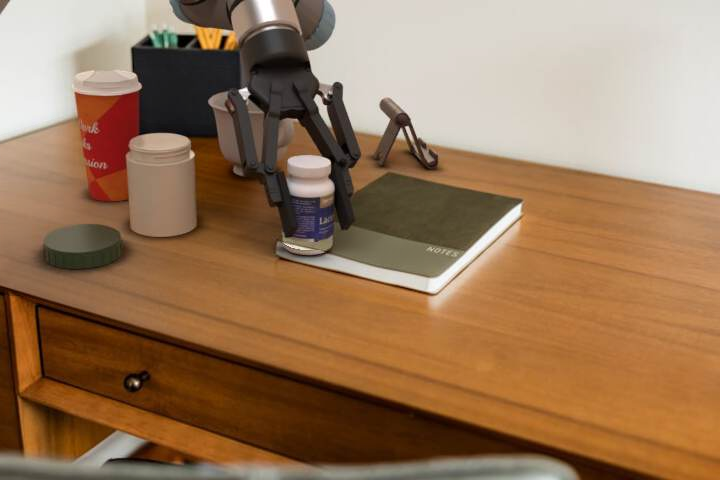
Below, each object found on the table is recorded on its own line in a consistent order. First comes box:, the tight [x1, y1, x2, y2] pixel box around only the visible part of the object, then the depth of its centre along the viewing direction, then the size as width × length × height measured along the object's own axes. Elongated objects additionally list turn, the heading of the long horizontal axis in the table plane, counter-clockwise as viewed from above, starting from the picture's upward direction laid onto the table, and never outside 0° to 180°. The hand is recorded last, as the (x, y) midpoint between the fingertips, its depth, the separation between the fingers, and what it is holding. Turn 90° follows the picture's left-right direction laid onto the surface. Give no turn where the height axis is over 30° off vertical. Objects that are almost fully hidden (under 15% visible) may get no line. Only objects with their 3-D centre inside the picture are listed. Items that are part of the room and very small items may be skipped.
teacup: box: [207, 91, 295, 177], centre depth 121 cm, size 12×15×10 cm
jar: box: [126, 132, 198, 238], centre depth 103 cm, size 8×8×10 cm
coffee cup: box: [70, 69, 143, 202], centre depth 111 cm, size 8×8×15 cm
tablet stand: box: [373, 97, 439, 170], centre depth 129 cm, size 9×8×8 cm
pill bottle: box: [281, 154, 335, 256], centre depth 98 cm, size 6×6×10 cm
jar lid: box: [42, 223, 124, 270], centre depth 96 cm, size 8×8×2 cm
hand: (320, 228), depth 95 cm, fingers closed on pill bottle, 6 cm apart
